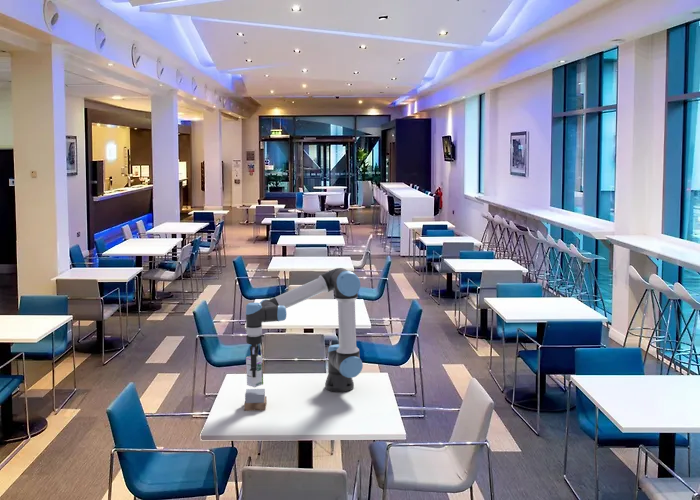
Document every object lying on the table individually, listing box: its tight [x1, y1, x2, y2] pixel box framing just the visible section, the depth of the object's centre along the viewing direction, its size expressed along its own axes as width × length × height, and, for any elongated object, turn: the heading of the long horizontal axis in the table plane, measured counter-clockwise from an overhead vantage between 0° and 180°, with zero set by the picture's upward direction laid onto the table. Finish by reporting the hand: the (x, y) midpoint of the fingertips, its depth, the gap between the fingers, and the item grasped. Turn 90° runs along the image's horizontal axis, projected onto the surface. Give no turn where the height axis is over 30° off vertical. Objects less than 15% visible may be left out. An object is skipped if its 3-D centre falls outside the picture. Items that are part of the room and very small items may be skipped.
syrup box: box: [245, 354, 264, 388], centre depth 363 cm, size 6×6×14 cm
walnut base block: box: [243, 395, 268, 412], centre depth 365 cm, size 10×10×4 cm
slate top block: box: [244, 388, 266, 403], centre depth 365 cm, size 9×9×4 cm
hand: (254, 380), depth 364 cm, fingers closed on syrup box, 8 cm apart
